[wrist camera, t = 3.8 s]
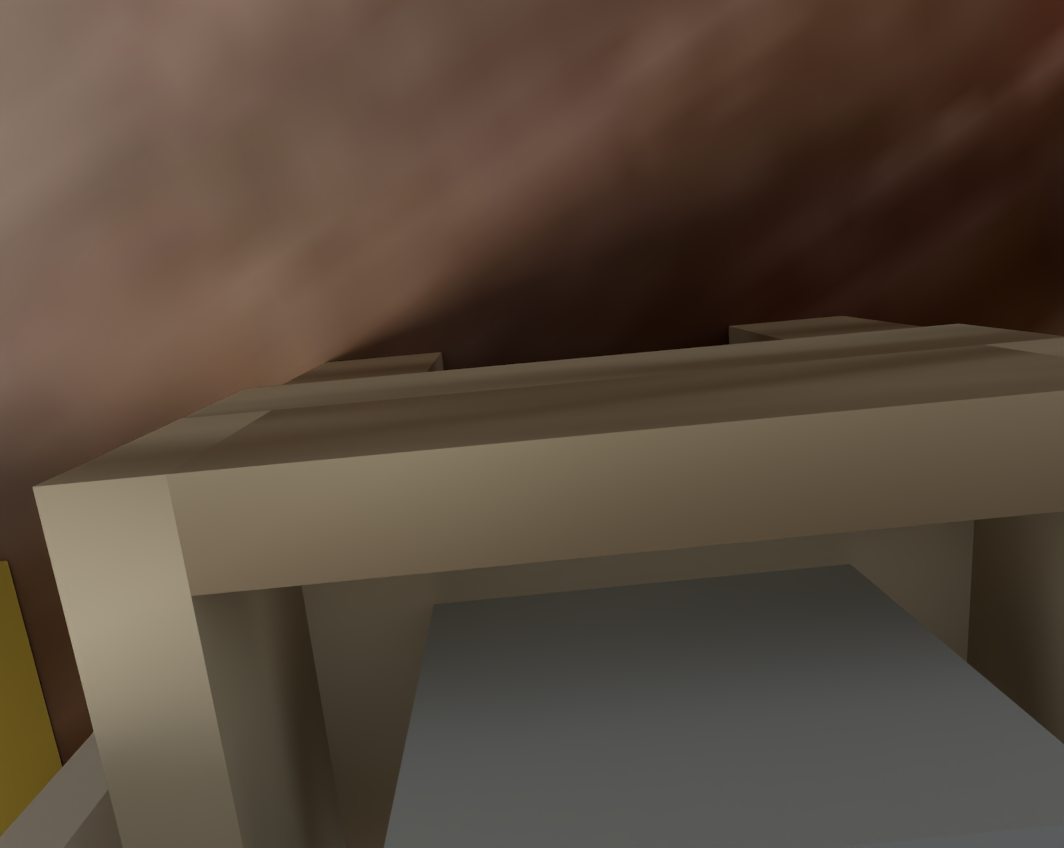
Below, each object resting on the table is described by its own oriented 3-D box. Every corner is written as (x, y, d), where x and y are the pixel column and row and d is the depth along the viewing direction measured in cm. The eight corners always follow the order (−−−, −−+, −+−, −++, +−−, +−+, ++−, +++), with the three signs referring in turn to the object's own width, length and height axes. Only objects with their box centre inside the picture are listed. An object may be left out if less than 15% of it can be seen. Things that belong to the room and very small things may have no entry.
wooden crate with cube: (297, 364, 12) (32, 486, 5) (868, 312, 12) (1322, 365, 6) (375, 852, 14) (257, 1386, 7) (859, 801, 15) (1177, 1274, 8)
